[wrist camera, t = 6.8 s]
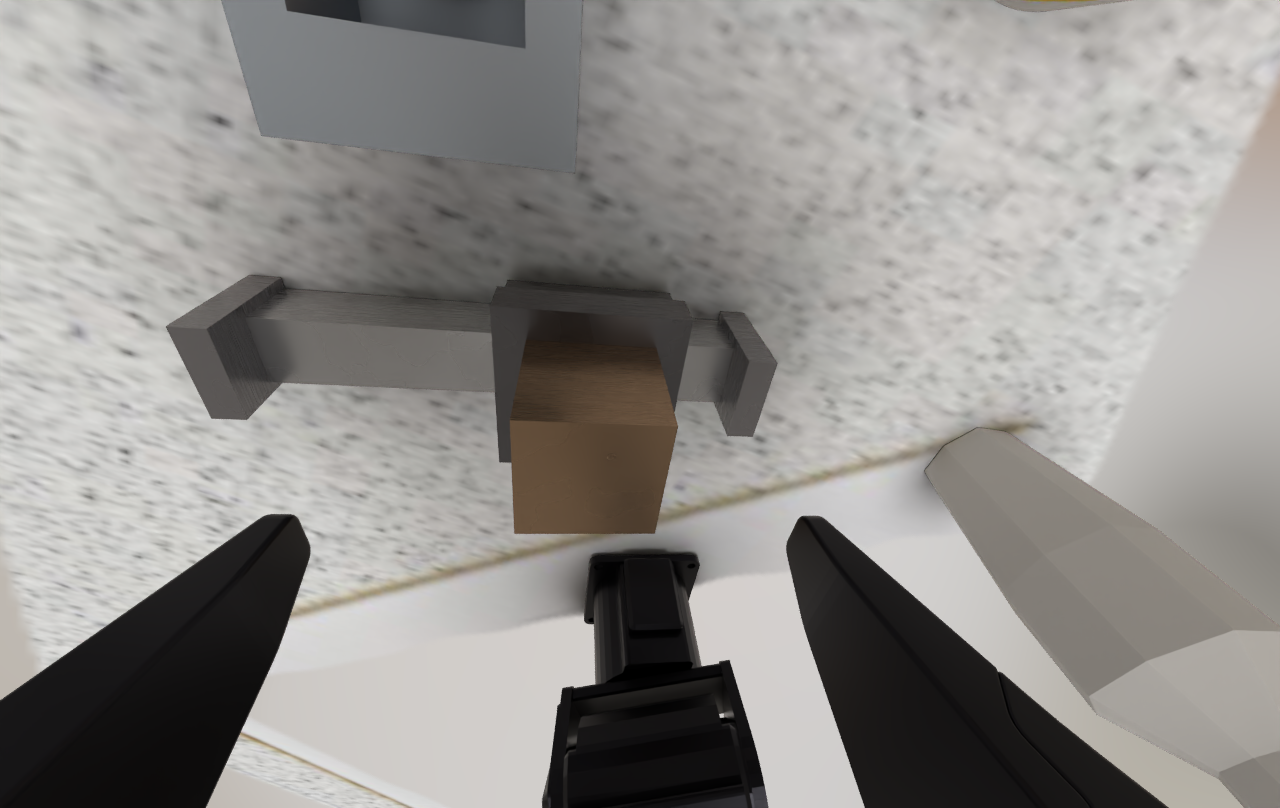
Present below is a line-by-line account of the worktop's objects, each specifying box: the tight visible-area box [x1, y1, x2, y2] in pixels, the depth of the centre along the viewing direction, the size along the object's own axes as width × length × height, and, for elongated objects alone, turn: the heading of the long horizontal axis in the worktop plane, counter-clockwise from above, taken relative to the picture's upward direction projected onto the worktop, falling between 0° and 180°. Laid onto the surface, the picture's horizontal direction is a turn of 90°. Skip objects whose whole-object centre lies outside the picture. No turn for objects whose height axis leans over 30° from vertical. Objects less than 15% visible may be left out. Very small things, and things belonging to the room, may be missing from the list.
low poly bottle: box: [925, 428, 1280, 808], centre depth 17 cm, size 6×6×22 cm
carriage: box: [490, 280, 693, 534], centre depth 15 cm, size 6×6×8 cm
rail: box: [166, 275, 778, 437], centre depth 17 cm, size 3×18×4 cm, turn 83°
